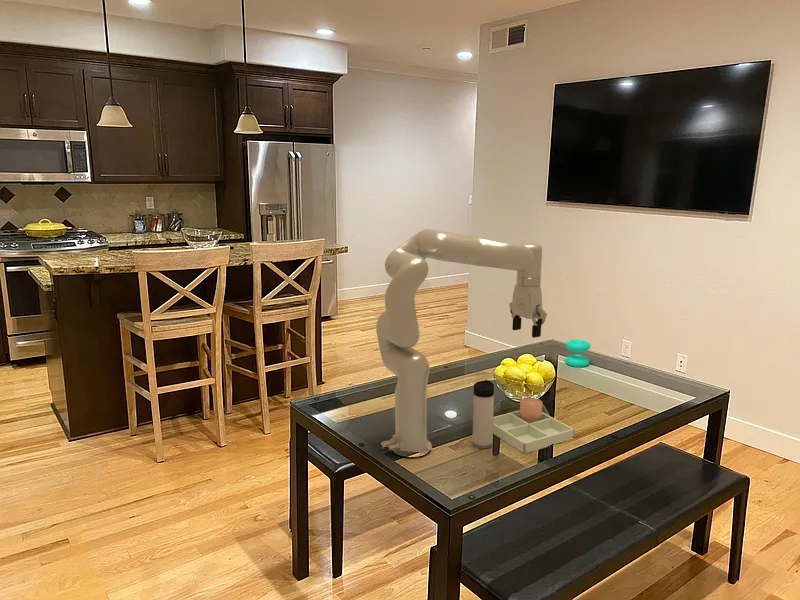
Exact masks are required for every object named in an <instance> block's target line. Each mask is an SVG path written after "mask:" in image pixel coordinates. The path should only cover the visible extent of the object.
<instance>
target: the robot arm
mask: <svg viewBox="0 0 800 600" xmlns="http://www.w3.org/2000/svg"><path fill="white" fill-rule="evenodd" d="M428 258H429V259H432V260H436V261H441V262H448V263H458V264H463V265H470V266H476V267H485V268H486V267H487V268H495V269H501V270H509V271H516V283H515V284H514V287H513V293H512V300H511V302H509V303H508V306H509V311H510V314H511V318H512V326H511V328H512V331H518V330H522V318H524V319H526V320H530V319H531V320H532V321H531V322H532V323H533V324H532V327H531V337H532V338H534V339H535V338H539V337H541V336H542V335H541V334H542V326H543V325H544V323H545V322H546V319H547V316H548V314H547V312H546V310H544V309H543V296H542V295H543V292H542V287H541V284H542V283H541V281H542V261H543V259H542V258H543V247H542V245H541V244H540V243H535V242H523V243H504V242H503V243H502V242H499V241H494V240H491V239H486V238H483V237H478V236H473V235H467V234H461V233H454V232H447V231H442V230H436V229H430V228H426V229H422V230H420V231H418V232H416V234H414V235H412V236H411V237H410V238H409V239H407V240H406V241H405V242H403V243H402V244H400V245H398V247H396V248H395V249H393V250H392V251H391V252H390V253H389V254H388V255H387V257H386V259H385V262H384V269H385V272H386V273H387V275H388V276H389V277H390V278H392V279H391V280H390V282H389V284H388V286H387V288H386V290H385V294H384V304H385V305H384V307H385V311H384V312H382V313H380V315H379V316H378V319H377V321H376V327H375V330H376V331H375V332H376V337H377V342H378V346H379V348H378V349H379V351H380V352H379V353H380V357H381V361H382V363H383V365H384V367H385V368H386V369H387V370H388V371H390V372H391V373H392V374H393V375H394V376H396V377H397V383H396V386H395V390H394V391H395V392H394V412H395V413H394V419H395V420H394V421H395V423H394V424H395V430H394V431H395V434H392V438H390V439H389V440H384V441H380V446H381V445H382V446H383V447H387V448H388V450H389V449H390V450H389V451H391V450H392V449H396V448H397V449H399V450H401V451H408V452H419V453H420V454H422V453H426V452H429V451H430V450H431V449H433V448H432V447H433V444H432V443H431V441H429V439H428V438H427V427H428V425H427V423H428V421H427V420H428V419H427V418H428V417H427V416H428V415H427V413H428V412H427V411H428V410H427V407H428V406H427V400H428V399H427V398H428V397H427V396H428V395H427V394H428V393H427V392H428V391H427V389H428V382H429V381H428V380H429V376H430V371H431V369H430V363H429V359H428V358H427V357H426V356H425V355H424V354H423V353H422V352H420V351H419V350H417V349H415V348H413V347H415V346H416V345H417V343H419V340H420V328H419V322H418V321H419V320H418V316H417V310H416V304H415V302H416V301H415V296H416V293H417V292H418V289H419V288H420V286H421V285H422V284H423V283H424V281H425V280H426V279H427V277H428V275H429V266H428V263H427V261H426V260H425V259H428ZM431 451H432V450H431Z"/></svg>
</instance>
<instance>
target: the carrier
mask: <svg viewBox="0 0 800 600" xmlns="http://www.w3.org/2000/svg"><path fill="white" fill-rule="evenodd" d="M494 435H495V436H496V437H497V438H499V439H500V440H502V441H504V442H505V443H507V444H508V445H510V447H511V446H512V447H513V448H515V449H516V450H518V451H519V452H521V453H522V454H528V453H532V452H534V451H538V450H541V449H545V448H549V447H551V446H550V445H552V444H555V445H557V444H556V443H558V442H560V441H564V440H567V439H570V438H572V437H574V438H575V428H573V427H572V426H570V425H567V424H565V423H563V422H562V421H560V420H558V419H556V418H554V417H552V416H550V415H549V414H548V413H545V412H543V411H542V420H540V421H537V422H533V423H527V422H525V421H524V420H522V419H520V409H519V410H515V411H512V412H507V413H505V414H500V415H496V416H493V436H494ZM548 446H549V447H548ZM552 446H553V445H552Z"/></svg>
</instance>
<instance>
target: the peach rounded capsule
mask: <svg viewBox="0 0 800 600" xmlns="http://www.w3.org/2000/svg"><path fill="white" fill-rule="evenodd" d="M519 406H520V407H519V410H520V419H522V420H524V421H525V422H527V423H533V422H537V421H540V420H542V412H543V401H542V400H541V399H539V398H535V397H524V398H521V399H520V404H519Z"/></svg>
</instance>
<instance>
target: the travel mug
mask: <svg viewBox="0 0 800 600" xmlns="http://www.w3.org/2000/svg"><path fill="white" fill-rule="evenodd" d="M472 394H473V396H472V398H473V399H472V445H473V446H474V447H476V448H478V449H488V448H491V447H492V446H493V444H494V440H493V439H494V434H493V417H494V410H495V404H494V403H495V384H494V383H493V382H492V381H491V380H488V379H484V380H480V381H479V380H478V381H477V382H475V383H474V384H473V393H472Z"/></svg>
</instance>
